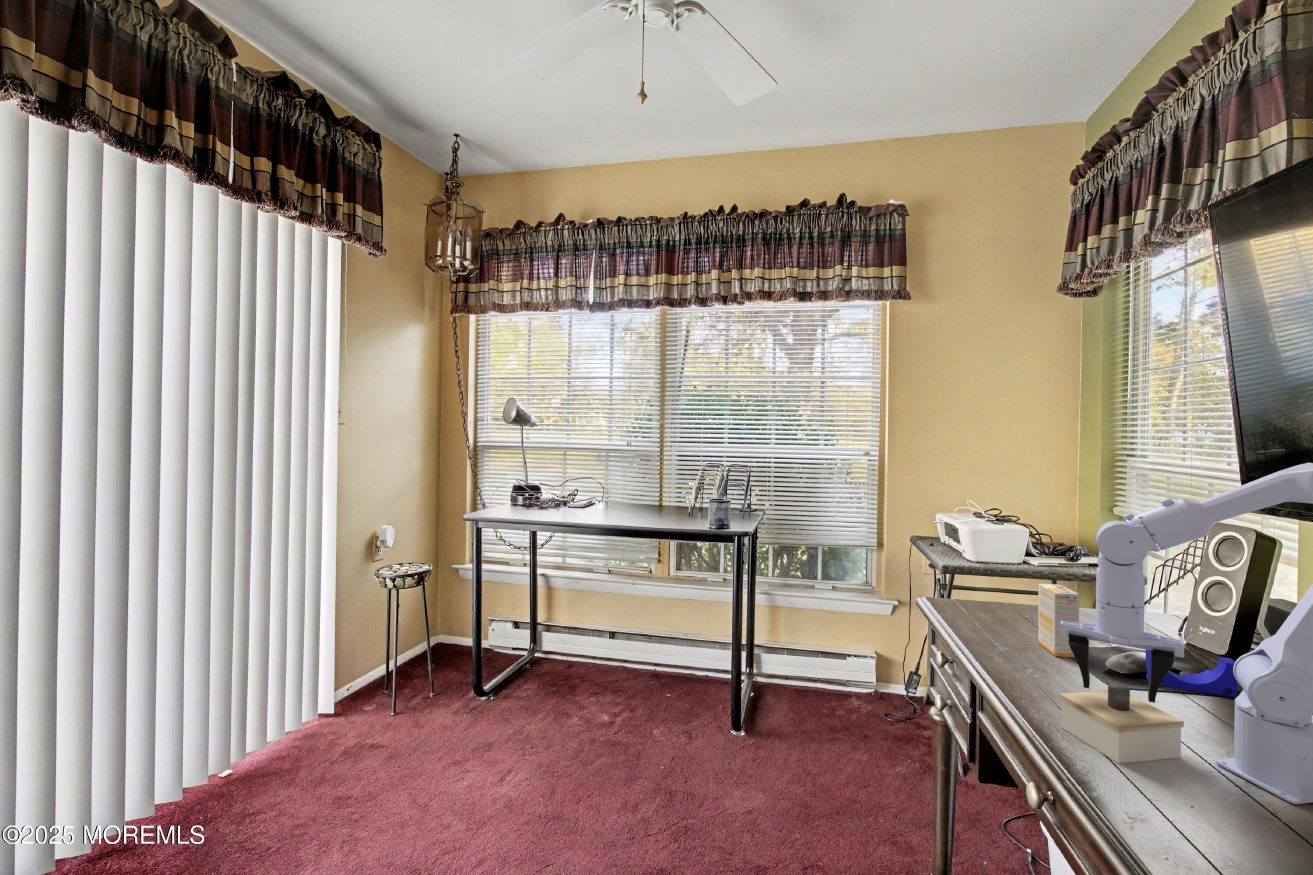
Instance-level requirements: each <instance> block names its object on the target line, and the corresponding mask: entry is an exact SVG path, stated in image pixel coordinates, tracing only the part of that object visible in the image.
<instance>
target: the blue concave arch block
mask: <svg viewBox="0 0 1313 875" xmlns="http://www.w3.org/2000/svg"><path fill="white" fill-rule="evenodd" d="M1235 662H1236V661H1235V660H1233V659H1232V658H1230V657H1222V656H1219V659H1218V663H1217V665H1216V667H1215V668H1214V669H1206V670H1203V671H1202V672H1199V673H1198V672H1197V673H1192V674H1189V673H1187V674H1186V673H1185V674H1184V675H1181V674H1180V675H1179V674H1176V672H1175V673H1174V672H1172V671H1171V670H1169V671H1168V672H1167V674H1166V675H1165V677H1164V678H1163V680H1162V682H1161V684H1160V686H1159V687H1165V688H1172V689H1178V690H1184V691H1192V692H1197V693H1198V692H1200V693H1205V694H1211V695H1218V696H1224V697H1231V698H1232V697H1233V698H1237V697H1238V682H1237V680H1236V679H1235V677H1234V673H1233V667H1234V664H1235ZM1145 663H1146V667H1147V674H1146V678H1147V680H1148V681H1147V680H1146V681H1147V682H1149V678H1150V650H1145ZM1146 678H1145V679H1146Z"/></svg>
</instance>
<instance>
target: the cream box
mask: <svg viewBox="0 0 1313 875" xmlns="http://www.w3.org/2000/svg"><path fill="white" fill-rule="evenodd" d="M1060 725H1061V727H1060V728H1061V729H1063V730H1065V731H1066V732H1067V733H1069V734H1071V735H1073V736H1074V737H1076V738H1077V739H1079V740H1080V741H1082V742H1083V743H1085V744H1086V745H1089V746H1090V747H1092V748H1093V749H1095V750H1097V751H1098V752H1099V753H1101V754H1103V755H1104V756H1106V757H1108V758H1109V759H1111V760H1113V761H1115V763H1117V764H1123V763H1125V764H1126V763H1135V762H1147V761H1157V760H1170V759H1180V758H1182V756H1181V752H1182V727H1177V728H1165V729H1154V730H1142V731H1130V732H1117V731H1115V730H1114V729H1112V728H1110V727H1108V726H1107V725H1105V724H1103V723H1101V722H1100V721H1098V720H1096V719H1094V718H1093V717H1091V716H1089V715H1087V714H1085V713H1084V712H1082V711H1080V710H1078V709H1077V708H1075V707H1073V706H1071V705H1070V704H1068V703H1066V702H1064V701H1063V700H1061V724H1060Z"/></svg>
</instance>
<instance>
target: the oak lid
mask: <svg viewBox="0 0 1313 875" xmlns="http://www.w3.org/2000/svg"><path fill="white" fill-rule="evenodd" d="M1059 700H1061V701H1062V700H1063V701H1064V702H1066V703H1068V704H1070V705H1071V706H1073V707H1075V708H1077V709H1078V710H1080V711H1082V712H1084V713H1085V714H1087V715H1089V716H1091V717H1093V718H1094V719H1096V720H1098V721H1100V722H1101V723H1103V724H1105V725H1107V726H1108V727H1110V728H1112V729H1114V730H1115V731H1117V732H1130V731H1142V730H1154V729H1165V728H1177V727H1181V728H1184V727H1185V726H1184V725H1185V722H1184V720H1182V719H1180V718H1177V717H1175V716H1173V715H1171V714H1169V713H1168V712H1166V711H1163V710H1162V709H1159V708H1158V707H1155V706H1153V705H1151V704H1149V703H1147V702H1145V701H1143V700H1141V699H1139V698H1136V697H1134V696H1133V695H1131V689H1130V687H1128V686H1126V685H1123V684H1120V683H1112V682H1111V683H1108V684H1107V690H1106V689H1105V690H1093V691H1080V692H1066V693H1059Z"/></svg>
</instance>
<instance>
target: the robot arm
mask: <svg viewBox="0 0 1313 875" xmlns="http://www.w3.org/2000/svg"><path fill="white" fill-rule="evenodd" d="M1286 502H1287V503H1288V502H1290V503H1291V502H1292V503H1293V502H1294V503H1305V504H1313V462H1305V463H1301V464H1298V465H1294V466H1290V467H1288V468H1284V469H1281V470H1279V471H1278V470H1277V471H1276V472H1273V473H1271V474H1268V475H1265V476H1263V477H1260V478H1258V479H1255V480H1253V481H1252V480H1251V481H1249V482H1248V483H1245V484H1242V485H1239V486H1237V487H1235V488H1232V489H1229V490H1227V491H1224V492H1222V493H1218V494H1216V495H1214V496H1211V497H1209V498H1205V499H1204V500H1201V501H1193V500H1190V499H1186V498H1183V497H1182V498H1181V497H1180V498H1177V499H1174V500H1173V499H1172V498H1170V497H1167V498H1164V499H1162V500H1161V499H1160V501H1159V503H1160V504H1161V505H1159V506H1155V507H1153V508H1150V509H1146V510H1145V511H1141V512H1140V513H1136V514H1134V515H1133V514H1132V513H1131V512H1129V513H1126V514H1124V515H1123V518H1124V519H1125V520H1111V521H1107V522H1106V523H1104V524H1102V525H1101V526H1100V528H1099V529H1098V531H1097V533H1096V536H1095V537H1094V539H1095V543H1096V545H1097V548H1098V550H1099V552H1098V556H1097V559H1096V561H1097V562H1096V563H1097V565H1098V567H1097V568H1096V576H1095V577H1096V579H1095V581H1096V582H1095V584H1096V585H1095V586H1096V587H1095V623H1089V622H1088V623H1087V622H1079V623H1077V622H1068V621H1061V624H1060V636H1064V637H1069V642H1068V643H1069V646H1070V648H1071V650H1072V652H1073V654H1074V656H1075V657H1074V658H1075V660H1076V662H1077V664H1078V667H1079V671H1080V675H1081V678H1082V683H1083V685H1082V686H1083V688H1084V689H1090V684H1091V682H1090V681H1091V679H1090V678H1091V675H1090V664H1089V657H1090V656H1089V654H1090V653H1089V652H1090V641H1094V642H1101V643H1106V644H1112V645H1119V646H1123V647H1129V648H1134V649H1135V648H1136V649H1140V650H1145V651H1146V650H1150V678H1149V683H1148V685H1147V686H1148V687H1147V699H1148V702H1149V703H1153V704H1154V703H1155V704H1156V697H1157V695H1158V694H1157V693H1158V690H1159V688H1160V687H1161V686H1160V684H1161V682H1162V680H1163V678H1164V677H1165V675H1166V674H1167V672H1168V671H1171V670H1170V669H1171V668H1173V665H1174V663H1175V658H1174V657H1177V658H1184V657H1185V642H1184V639H1183V640H1181V639H1177V638H1172V637H1168V636H1162V635H1158V634H1154V633H1149V632H1145V582H1146V580H1145V578H1146V576H1145V573H1144V560H1145V559H1146V557H1147V556H1148V554H1149V552H1154V553H1158V552H1160V551H1164V550H1167V549H1170V548H1173V547H1177V546H1179V545H1182V544H1187V543H1188V542H1189V543H1190V542H1193V541H1194V540H1197V539H1201V538H1204V537H1207V536H1208V535H1209V533H1210V530H1211V528H1212V526H1213V525H1215V523H1219V522H1222V521H1224V520H1225V521H1226V520H1229V519H1232V518H1235V517H1236V518H1237V517H1238V516H1241V515H1242V516H1243V515H1245V514H1249V513H1252V512H1256V511H1259V510H1262V509H1265V508H1269V507H1272V506H1276V505H1279V504H1283V503H1286ZM1234 662H1235V664H1234V667H1233V673H1234V677H1235V679H1236V680H1237V684H1238V685H1239V686H1240V687H1241V688H1242V691H1241V692H1240V693H1239V695H1237V697H1235V698H1234V722H1233V723H1234V730H1233V732H1234V734H1233V739H1234V741H1233V757H1229V758H1228V757H1227V758H1220V759H1219V758H1217V759H1215V764H1216V765H1218V766H1220V767H1222V768H1224V769H1226V770H1228V771H1230V772H1232V773H1234V774H1235V775H1237V776H1238V777H1241V778H1242V779H1245V780H1247V781H1249V782H1251V783H1253V784H1255V785H1256V786H1258V787H1260V788H1262V789H1264V790H1266V791H1267V792H1270V793H1272V795H1273V794H1274V795H1275V796H1276V797H1279V798H1281V799H1283V800H1285V801H1286V802H1288V803H1290V802H1291V803H1290V804H1294V805H1303V804H1310V803H1311V804H1312V803H1313V722H1312V719H1313V718H1312V717H1313V583H1312V584H1311V585H1310V587H1309V588H1308V589H1307V590H1306V592H1305V593H1304V595H1303V596H1302V597H1301V599H1300V600H1299V602H1298V603H1297V605H1295V607H1294V609H1292V611H1291V612H1290V614H1289V615H1288V616H1287V618H1286V620H1284V622H1282V625H1281V626H1280V628H1279V629H1278V630H1277V631H1276V633H1275V634H1273V635H1271V636H1269V637H1267V638H1266V639H1263V640H1262V641H1261V642H1260V643H1259V645H1258V646H1257V647H1256V648H1255V649H1254V650H1252V651H1249V652H1247V653H1245V654H1243V655H1240V656H1239V657H1238V658H1237V659H1236V661H1234Z"/></svg>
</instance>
